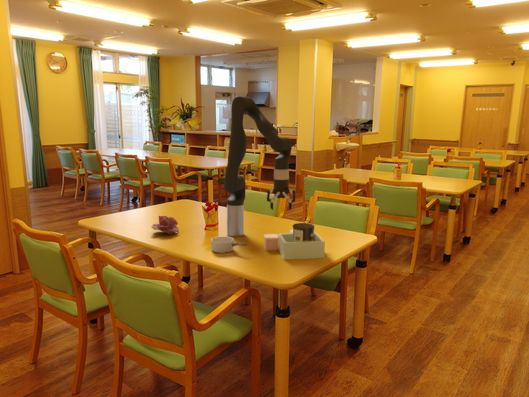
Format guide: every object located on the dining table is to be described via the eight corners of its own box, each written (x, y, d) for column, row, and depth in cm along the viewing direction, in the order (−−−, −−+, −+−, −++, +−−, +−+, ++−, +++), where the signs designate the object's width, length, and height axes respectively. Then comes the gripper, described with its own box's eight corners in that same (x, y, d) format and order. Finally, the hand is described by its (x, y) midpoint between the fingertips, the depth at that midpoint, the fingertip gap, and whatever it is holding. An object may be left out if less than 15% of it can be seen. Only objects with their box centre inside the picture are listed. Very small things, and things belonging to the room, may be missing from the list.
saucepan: (238, 259, 190) (238, 247, 189) (205, 251, 201) (205, 240, 200) (253, 252, 200) (253, 241, 199) (220, 245, 211) (220, 235, 210)
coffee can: (314, 251, 202) (315, 223, 200) (312, 258, 192) (313, 228, 190) (293, 249, 204) (294, 222, 202) (290, 256, 194) (291, 227, 192)
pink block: (265, 250, 203) (265, 237, 202) (263, 246, 209) (263, 234, 208) (278, 250, 204) (278, 237, 202) (276, 246, 210) (276, 233, 209)
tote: (283, 259, 190) (284, 242, 188) (278, 249, 205) (278, 233, 203) (324, 258, 193) (324, 241, 191) (315, 247, 208) (316, 232, 206)
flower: (149, 232, 223) (154, 214, 223) (151, 229, 237) (155, 212, 237) (176, 239, 226) (181, 221, 226) (176, 235, 240) (181, 218, 240)
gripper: (266, 178, 202) (266, 211, 205) (295, 179, 202) (295, 211, 205) (267, 176, 210) (267, 208, 213) (295, 177, 209) (294, 208, 212)
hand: (280, 209), depth 209 cm, fingers open, 8 cm apart
